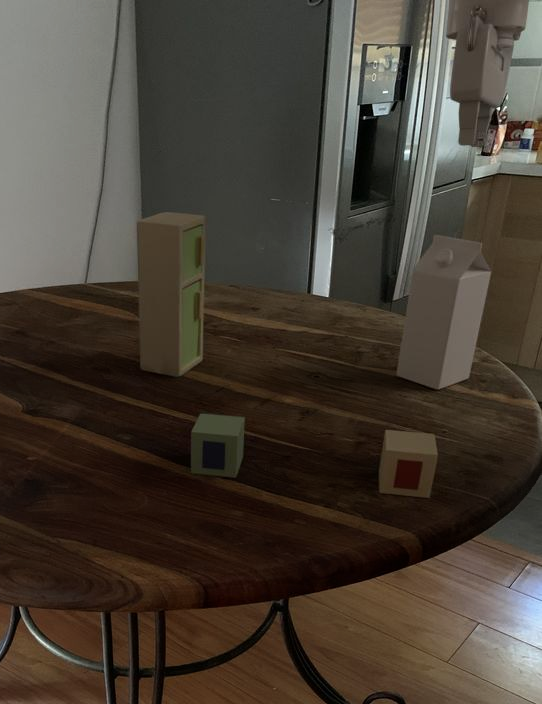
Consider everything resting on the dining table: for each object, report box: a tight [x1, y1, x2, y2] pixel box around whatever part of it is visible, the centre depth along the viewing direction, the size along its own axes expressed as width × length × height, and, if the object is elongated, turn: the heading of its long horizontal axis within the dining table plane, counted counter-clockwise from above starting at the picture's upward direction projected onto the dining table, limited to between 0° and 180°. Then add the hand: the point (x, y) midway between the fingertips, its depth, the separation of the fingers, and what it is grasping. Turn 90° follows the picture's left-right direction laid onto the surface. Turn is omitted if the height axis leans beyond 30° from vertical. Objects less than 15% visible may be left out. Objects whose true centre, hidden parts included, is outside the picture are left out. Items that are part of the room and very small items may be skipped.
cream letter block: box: [378, 429, 439, 499], centre depth 76 cm, size 5×5×5 cm
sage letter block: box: [190, 413, 246, 479], centre depth 81 cm, size 5×5×5 cm
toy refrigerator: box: [136, 211, 207, 378], centre depth 104 cm, size 8×7×21 cm
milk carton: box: [396, 234, 492, 391], centre depth 100 cm, size 7×7×19 cm
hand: (472, 146), depth 93 cm, fingers open, 8 cm apart
